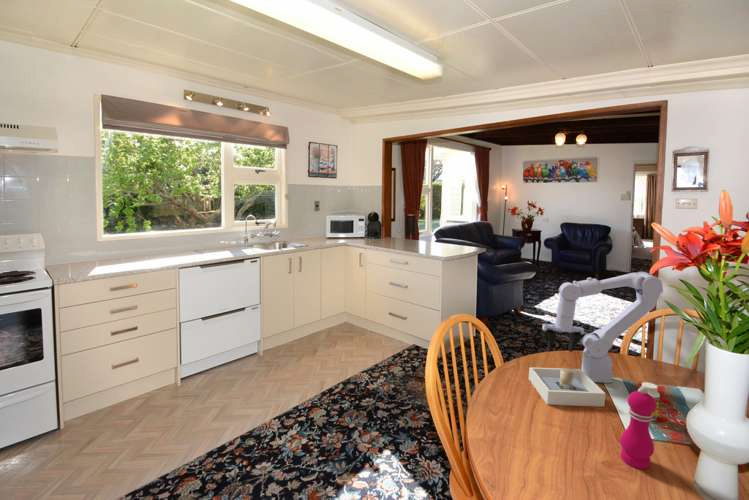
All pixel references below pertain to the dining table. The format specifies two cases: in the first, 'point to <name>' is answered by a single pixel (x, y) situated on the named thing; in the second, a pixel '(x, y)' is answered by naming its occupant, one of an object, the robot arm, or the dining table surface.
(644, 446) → the pepper mill
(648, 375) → the dining table surface
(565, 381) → the peg
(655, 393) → the supplement bottle
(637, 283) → the robot arm
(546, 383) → the bore plate
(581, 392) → the tray
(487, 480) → the dining table surface
